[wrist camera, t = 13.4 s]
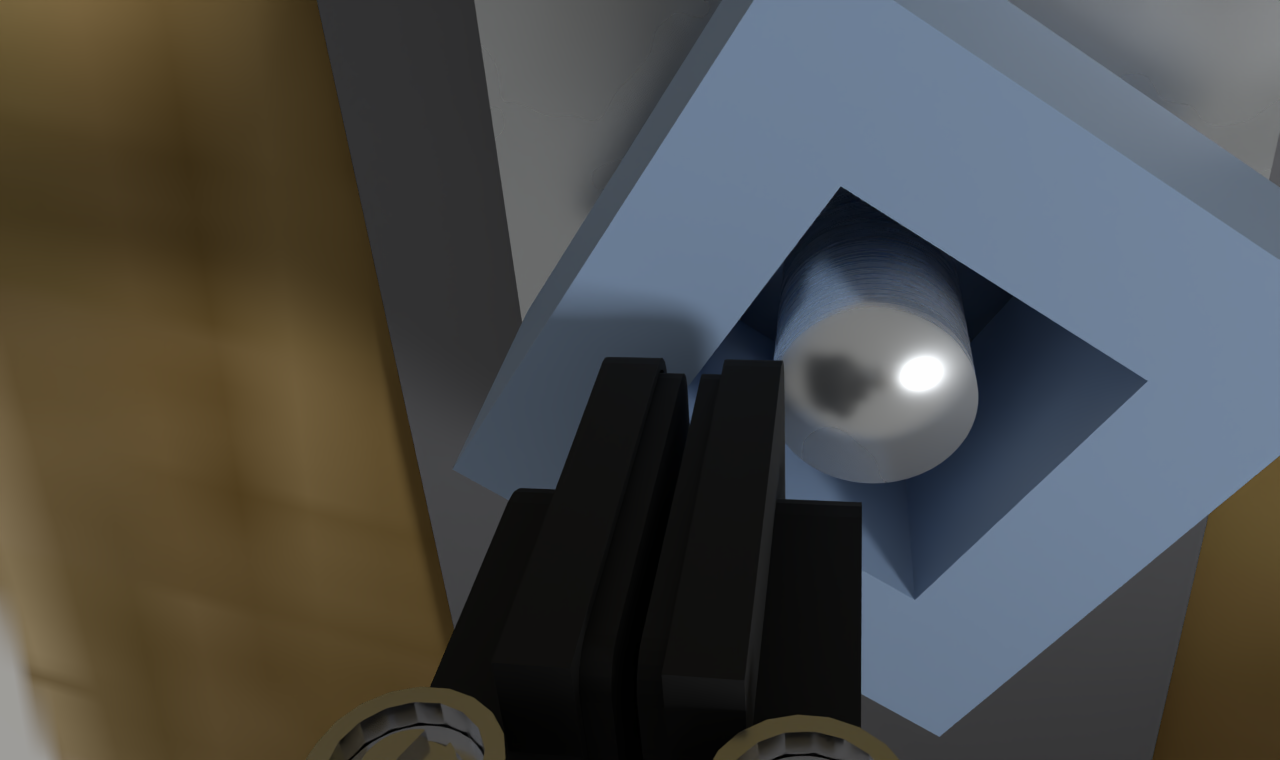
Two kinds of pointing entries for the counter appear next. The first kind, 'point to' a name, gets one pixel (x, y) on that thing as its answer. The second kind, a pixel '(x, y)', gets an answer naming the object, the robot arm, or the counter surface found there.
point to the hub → (839, 199)
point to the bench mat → (490, 318)
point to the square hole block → (1002, 352)
